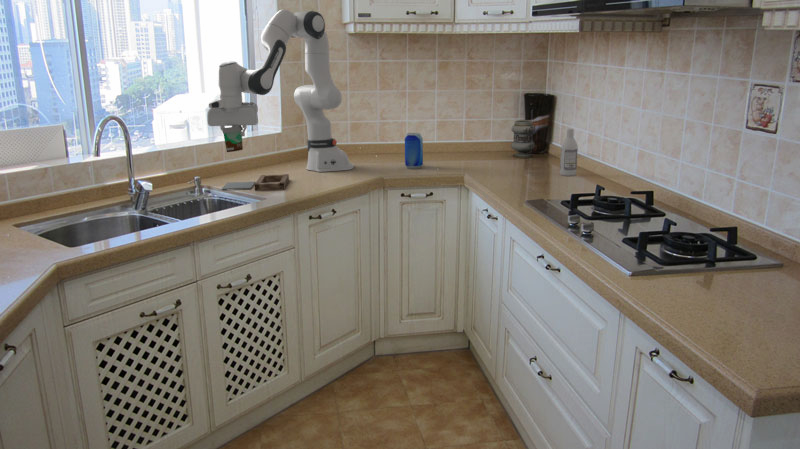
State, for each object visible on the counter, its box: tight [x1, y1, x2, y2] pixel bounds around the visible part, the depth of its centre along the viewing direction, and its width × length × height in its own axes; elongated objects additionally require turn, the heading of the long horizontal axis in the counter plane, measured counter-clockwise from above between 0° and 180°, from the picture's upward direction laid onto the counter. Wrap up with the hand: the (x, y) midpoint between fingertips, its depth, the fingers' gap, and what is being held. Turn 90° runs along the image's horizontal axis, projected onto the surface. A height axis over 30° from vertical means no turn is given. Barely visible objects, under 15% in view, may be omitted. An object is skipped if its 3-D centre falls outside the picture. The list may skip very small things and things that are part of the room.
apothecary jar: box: [510, 119, 536, 159], centre depth 323 cm, size 12×12×18 cm
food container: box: [222, 125, 244, 153], centre depth 267 cm, size 12×6×10 cm, turn 175°
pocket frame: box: [254, 173, 290, 191], centre depth 274 cm, size 12×18×2 cm, turn 3°
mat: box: [221, 181, 256, 191], centre depth 272 cm, size 12×12×1 cm
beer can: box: [404, 132, 424, 170], centre depth 302 cm, size 8×8×16 cm
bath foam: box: [559, 128, 579, 177], centre depth 279 cm, size 7×7×20 cm
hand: (234, 136), depth 266 cm, fingers closed on food container, 5 cm apart
